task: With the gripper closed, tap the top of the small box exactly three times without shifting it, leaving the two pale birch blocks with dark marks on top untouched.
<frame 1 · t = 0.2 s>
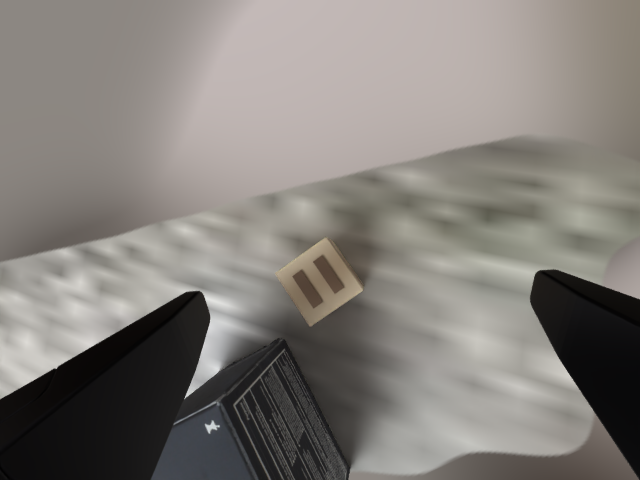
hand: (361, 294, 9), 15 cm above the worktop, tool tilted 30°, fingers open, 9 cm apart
small box: (280, 418, 24), on the worktop
marked block 1: (326, 278, 24), on the worktop
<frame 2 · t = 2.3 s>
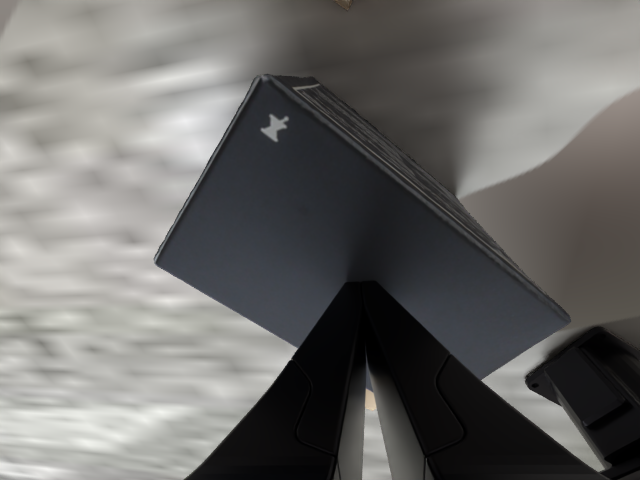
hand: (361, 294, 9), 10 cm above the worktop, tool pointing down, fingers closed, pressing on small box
small box: (350, 184, 18), on the worktop, touching gripper
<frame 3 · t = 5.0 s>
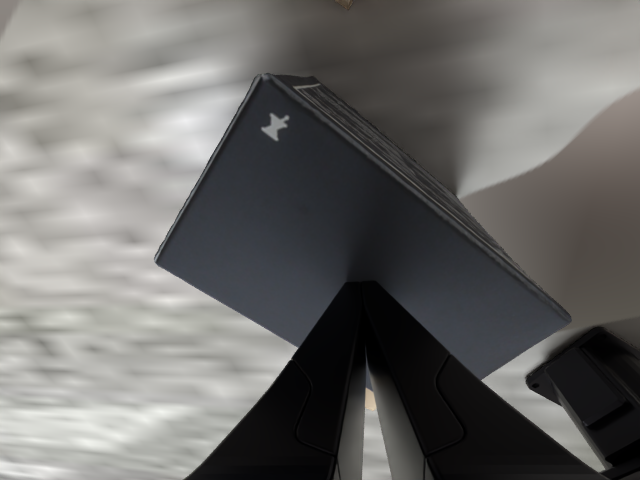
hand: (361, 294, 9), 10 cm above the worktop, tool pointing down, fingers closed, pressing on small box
small box: (350, 184, 18), on the worktop, touching gripper
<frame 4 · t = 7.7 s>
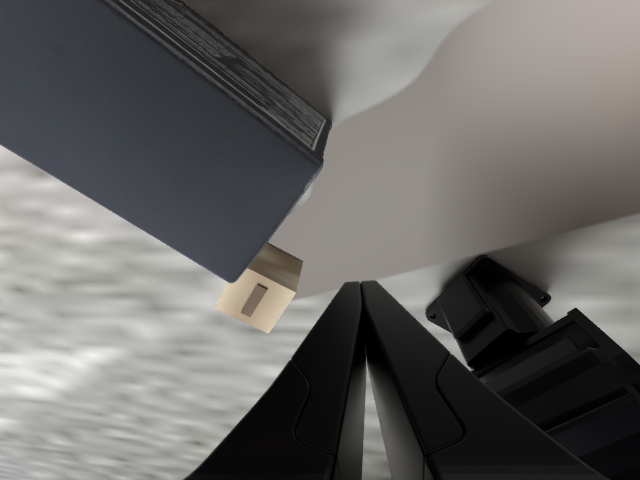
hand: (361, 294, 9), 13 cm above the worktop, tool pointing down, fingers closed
small box: (235, 112, 19), on the worktop
marked block 2: (267, 268, 24), on the worktop
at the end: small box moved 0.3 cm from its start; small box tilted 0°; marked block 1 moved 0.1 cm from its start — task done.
